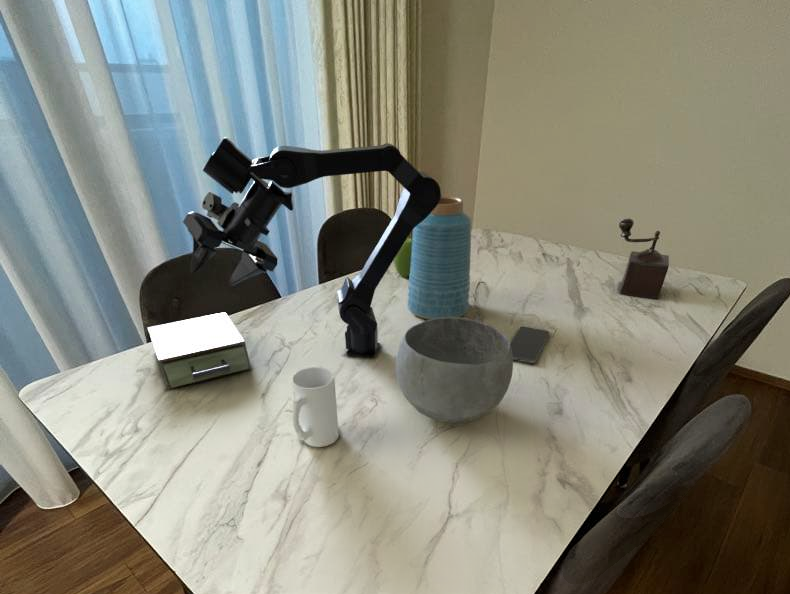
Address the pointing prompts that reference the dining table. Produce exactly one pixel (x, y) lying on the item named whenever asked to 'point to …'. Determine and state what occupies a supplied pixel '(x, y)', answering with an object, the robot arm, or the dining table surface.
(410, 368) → the bowl
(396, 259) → the green rounded piece
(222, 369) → the drawer
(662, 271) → the manual coffee grinder
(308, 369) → the mug
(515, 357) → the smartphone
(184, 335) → the cabinet
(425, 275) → the vase
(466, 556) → the dining table surface
